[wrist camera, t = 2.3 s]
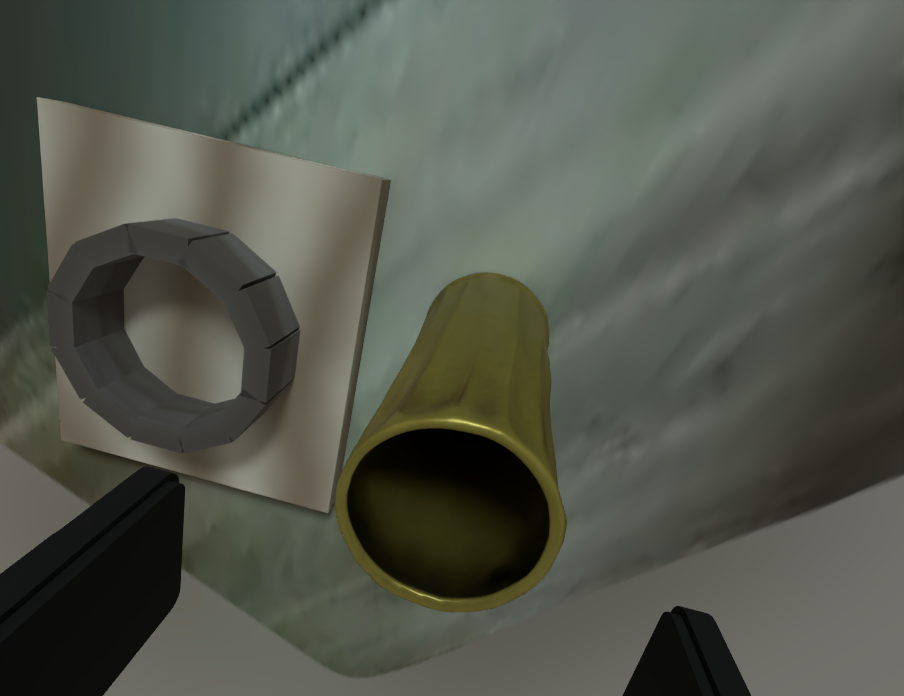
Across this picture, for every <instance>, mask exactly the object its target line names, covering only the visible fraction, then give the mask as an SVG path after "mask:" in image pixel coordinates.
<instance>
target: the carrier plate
mask: <svg viewBox="0 0 904 696" xmlns="http://www.w3.org/2000/svg"><path fill="white" fill-rule="evenodd" d="M37 105H38V119H39V133H40V147H41V161H42V175H43V189H44V204H45V218H46V232H47V246H48V260H49V274H50V283H49V285H48V287H47V288H48V289H49V290H50V291H46V295H47V309H48V322H49V336H50V346H53V347H55V348H54V349H51V350H52V351H53V353H54V355H55V359H56V373H57V387H58V401H59V416H60V430H61V440H63V441H67V442H71V443H74V444H78V445H82V446H85V447H89V448H93V449H96V450H100V451H103V452H107V453H111V454H114V455H118V456H122V457H125V458H129V459H133V460H136V461H140V462H143V463H147V464H151V465H154V466H158V467H162V468H165V469H169V470H172V471H176V472H180V473H183V474H187V475H191V476H194V477H198V478H202V479H205V480H209V481H212V482H216V483H220V484H223V485H227V486H231V487H234V488H238V489H241V490H245V491H249V492H252V493H256V494H260V495H263V496H267V497H271V498H274V499H278V500H281V501H285V502H289V503H292V504H296V505H300V506H303V507H307V508H310V509H314V510H318V511H321V512H325V513H329V511H330V509H331V507H332V506H333V504H334V502H335V492H336V487H337V483H338V480H339V477H340V475H341V472H342V467H343V461H344V455H345V449H346V443H347V437H348V431H349V425H350V419H351V413H352V407H353V401H354V395H355V389H356V383H357V378H358V372H359V366H360V360H361V354H362V348H363V342H364V336H365V330H366V324H367V318H368V312H369V306H370V300H371V294H372V288H373V282H374V276H375V270H376V264H377V258H378V252H379V246H380V241H381V235H382V229H383V223H384V217H385V211H386V205H387V199H388V193H389V187H390V181H391V180H388V179H383V178H379V177H375V176H371V175H367V174H363V173H359V172H354V171H350V170H346V169H342V168H338V167H334V166H329V165H325V164H321V163H317V162H313V161H309V160H304V159H300V158H296V157H292V156H288V155H284V154H279V153H275V152H271V151H267V150H263V149H259V148H255V147H250V146H246V145H242V144H238V143H234V142H230V141H225V140H221V139H217V138H213V137H209V136H205V135H200V134H196V133H192V132H188V131H184V130H180V129H175V128H171V127H167V126H163V125H159V124H155V123H150V122H146V121H142V120H138V119H134V118H130V117H126V116H121V115H117V114H113V113H109V112H105V111H101V110H96V109H92V108H88V107H84V106H80V105H76V104H71V103H67V102H62V101H56V100H50V99H45V98H39V97H37Z"/></svg>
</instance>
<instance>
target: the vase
mask: <svg viewBox="0 0 904 696" xmlns="http://www.w3.org/2000/svg"><path fill="white" fill-rule="evenodd" d="M548 347H549V326H548V320H547V315H546V313H545V310H544V308H543V306H542V305H541V303H540V301H539V300H538V299H537V297H536V296H535V295H534V294H533V292H532V291H531V290H529V289H528V288H527V287H526V286H525V285H524V284H522V283H521V282H519V281H517V280H515V279H513V278H511V277H508V276H505V275H501V274H496V273H475V274H471V275H467V276H464V277H461V278H459V279H457V280H455V281H453V282H452V283H450V284H449V285H447V286H446V287H445V288H444V289H443V290H442V291H441V292H440V293H439V294H438V296H437V297H436V298H435V300H434V301H433V303H432V304H431V306H430V308H429V311H428V313H427V317H426V319H425V322H424V324H423V326H422V329H421V331H420V333H419V336H418V338H417V340H416V343H415V345H414V346H413V348H412V350H411V352H410V354H409V356H408V357H407V359H406V361H405V363H404V365H403V367H402V368H401V370H400V372H399V373H398V375H397V377H396V379H395V380H394V382H393V383H392V385H391V387H390V389H389V390H388V392H387V394H386V396H385V398H384V400H383V402H382V404H381V405H380V407H379V409H378V410H377V412H376V413H375V415H374V416H373V418H372V420H371V421H370V423H369V424H368V426H367V427H366V429H365V431H364V432H363V434H362V436H361V438H360V440H359V442H358V443H357V445H356V446H355V447H354V449H353V451H352V453H351V455H350V457H349V459H348V461H347V462H346V464H345V466H344V468H343V470H342V472H341V475H340V477H339V480H338V483H337V487H336V492H335V510H336V518H337V522H338V526H339V528H340V531H341V533H342V535H343V537H344V539H345V542H346V544H347V546H348V548H349V550H350V552H351V554H352V555H353V557H354V558H355V560H356V561H357V563H358V564H359V565H360V566H361V567H362V569H363V570H364V571H365V572H366V573H367V574H368V575H369V576H370V577H371V578H372V579H373V580H374V581H375V582H376V583H377V584H379V585H380V586H381V587H383V588H384V589H386V590H387V591H389V592H391V593H392V594H394V595H396V596H398V597H401V598H403V599H405V600H408V601H411V602H413V603H416V604H418V605H421V606H424V607H427V608H430V609H434V610H437V611H445V612H476V611H482V610H488V609H492V608H495V607H498V606H501V605H504V604H506V603H508V602H510V601H512V600H514V599H516V598H518V597H520V596H522V595H524V594H525V593H526V592H528V591H529V590H530V589H532V588H533V587H534V586H536V585H537V584H538V583H539V582H540V581H541V580H542V579H543V578H544V577H545V575H546V574H547V573H548V571H549V570H550V568H551V566H552V565H553V563H554V561H555V559H556V557H557V555H558V553H559V551H560V549H561V546H562V544H563V542H564V538H565V532H566V526H567V519H566V514H565V510H564V507H563V504H562V500H561V496H560V493H559V489H558V481H557V471H556V460H555V451H554V444H553V437H552V428H551V418H550V392H551V372H550V361H549V356H548V352H547V350H548Z"/></svg>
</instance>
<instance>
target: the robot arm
mask: <svg viewBox="0 0 904 696" xmlns="http://www.w3.org/2000/svg"><path fill="white" fill-rule="evenodd" d="M184 502H185V487H184V485H183V484H181V483H179V478H178V476H177V475H176V474H174V473H170V472H167V471H163V470H159V469H155V468H151V467H148V466H147V467H143V468H141V469H139V470H138V471H136V472H135V473H134V474H132V475H131V476H130V477H128V478H127V479H126V480H125V481H123V482H122V483H121V484H119V485H118V486H117V487H115V488H114V489H113V490H111V491H110V492H109V493H108V494H106V495H105V496H104V497H102V498H101V499H100V500H98V501H97V502H96V503H94V504H93V505H92V506H90V507H89V508H88V509H87V510H85V511H84V512H83V513H82V514H80V515H79V516H77V517H76V518H75V519H73V520H72V521H71V522H69V523H68V524H67V525H66V526H64V527H63V528H62V529H60V530H59V531H57V532H56V533H54V534H52V535H51V536H50V537H48V538H47V539H46V540H44V541H43V542H42V543H41V544H39V545H38V546H37V547H36V548H34V549H33V550H31V551H30V552H29V553H27V554H26V555H25V556H24V557H22V558H21V559H20V560H18V561H17V562H16V563H14V564H13V565H12V566H10V567H9V568H8V569H6V570H5V571H4V572H2V573H1V574H0V696H103V695H104V693H105V692H106V691H107V690H108V688H109V687H110V686H111V685H112V683H113V682H114V681H115V680H116V678H117V677H118V676H119V675H120V673H121V672H122V671H123V670H124V668H125V667H126V666H127V665H128V663H129V662H130V661H131V660H132V658H133V657H134V656H135V655H136V653H137V652H138V651H139V650H140V648H141V647H142V646H143V645H144V643H145V642H146V641H147V639H148V638H149V637H150V636H151V634H152V633H153V632H154V631H155V630H156V628H157V627H158V626H159V624H160V623H161V622H162V621H163V620H164V618H165V617H166V616H167V615H168V613H169V612H170V611H171V609H172V608H173V606H174V604H175V603H176V600H177V598H178V596H179V593H180V583H181V564H182V543H183V522H184ZM623 696H751V694H750V692H749V690H748V688H747V686H746V684H745V682H744V680H743V678H742V676H741V674H740V672H739V670H738V667H737V665H736V663H735V661H734V659H733V657H732V655H731V653H730V651H729V649H728V647H727V644H726V642H725V640H724V638H723V637H722V634H721V632H720V630H719V628H718V626H717V624H716V622H715V620H714V619H713V617H712V616H711V615H709V614H707V613H703V612H700V611H695V610H692V609H688V608H684V607H680V606H676V607H674V608H673V609H672V611H671V612H664V613H663V614H662V616H661V618H660V620H659V622H658V624H657V626H656V628H655V630H654V632H653V634H652V636H651V638H650V640H649V642H648V644H647V646H646V648H645V651H644V653H643V655H642V657H641V659H640V661H639V663H638V665H637V667H636V669H635V671H634V673H633V675H632V677H631V679H630V681H629V683H628V685H627V688H626V690H625V692H624V694H623Z"/></svg>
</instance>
